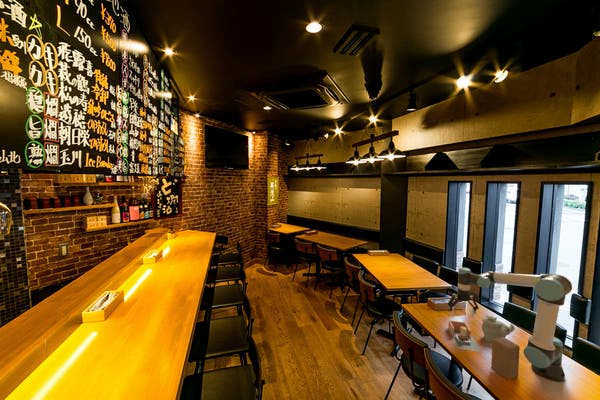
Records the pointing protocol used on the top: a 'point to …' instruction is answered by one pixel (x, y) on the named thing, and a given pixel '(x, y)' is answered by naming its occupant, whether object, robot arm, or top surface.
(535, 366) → the robot arm
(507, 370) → the wooden block
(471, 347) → the board
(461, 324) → the housing
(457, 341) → the socket
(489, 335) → the teapot
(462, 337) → the peg
